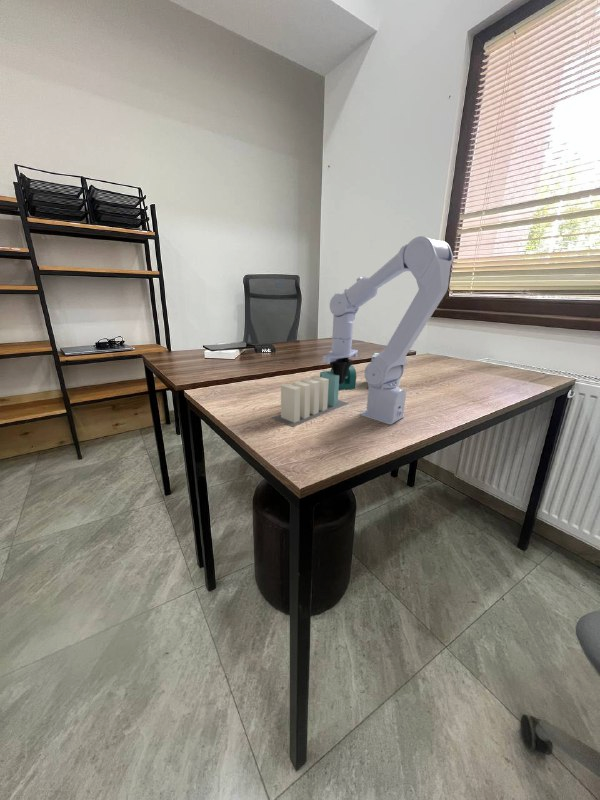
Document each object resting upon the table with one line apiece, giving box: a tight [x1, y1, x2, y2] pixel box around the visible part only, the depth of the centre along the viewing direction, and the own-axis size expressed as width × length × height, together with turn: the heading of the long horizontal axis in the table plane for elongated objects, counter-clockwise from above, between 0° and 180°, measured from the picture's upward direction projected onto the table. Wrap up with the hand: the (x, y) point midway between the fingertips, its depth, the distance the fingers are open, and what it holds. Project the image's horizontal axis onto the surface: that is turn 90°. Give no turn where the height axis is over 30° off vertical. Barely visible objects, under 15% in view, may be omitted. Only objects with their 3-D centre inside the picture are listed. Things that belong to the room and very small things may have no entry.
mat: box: [271, 399, 349, 428], centre depth 87 cm, size 8×24×1 cm, turn 136°
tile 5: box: [280, 383, 300, 423], centre depth 79 cm, size 5×2×9 cm, turn 46°
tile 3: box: [300, 377, 320, 415], centre depth 85 cm, size 5×2×9 cm, turn 46°
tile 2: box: [309, 375, 329, 411], centre depth 87 cm, size 5×2×9 cm, turn 46°
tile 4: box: [290, 380, 310, 419], centre depth 82 cm, size 5×2×9 cm, turn 46°
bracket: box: [319, 364, 357, 391], centre depth 113 cm, size 18×7×8 cm, turn 20°
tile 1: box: [322, 373, 340, 407], centre depth 91 cm, size 5×2×9 cm, turn 46°
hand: (339, 382), depth 93 cm, fingers closed
